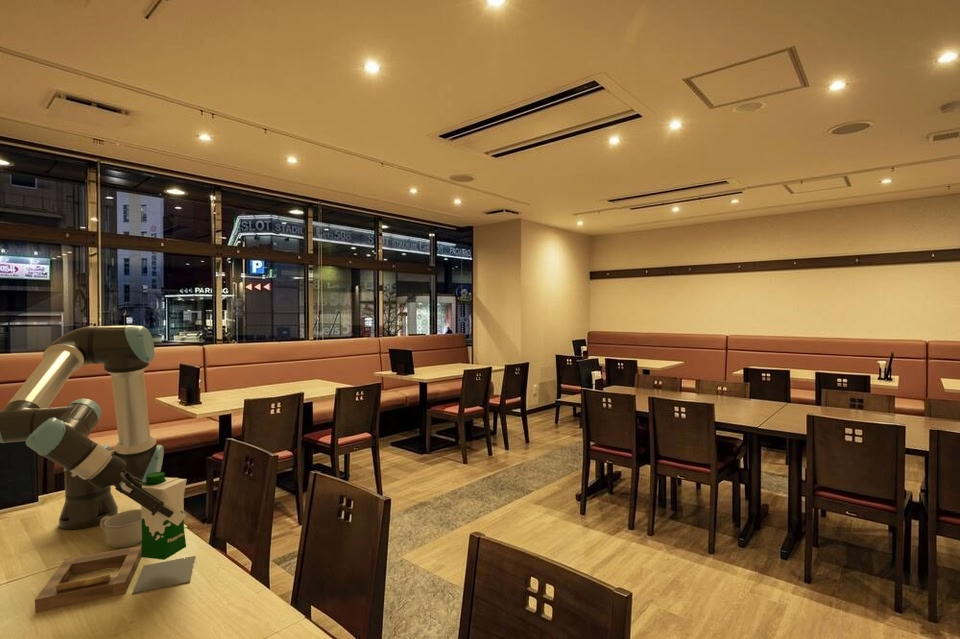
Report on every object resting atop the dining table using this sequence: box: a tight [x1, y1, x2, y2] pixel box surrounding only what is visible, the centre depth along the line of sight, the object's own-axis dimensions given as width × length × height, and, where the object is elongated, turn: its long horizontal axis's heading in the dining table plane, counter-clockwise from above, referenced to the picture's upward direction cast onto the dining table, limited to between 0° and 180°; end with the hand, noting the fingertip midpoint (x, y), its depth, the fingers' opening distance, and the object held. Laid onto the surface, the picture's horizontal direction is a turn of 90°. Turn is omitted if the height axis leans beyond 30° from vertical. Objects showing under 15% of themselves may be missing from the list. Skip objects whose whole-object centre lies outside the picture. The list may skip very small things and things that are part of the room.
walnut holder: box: [34, 545, 143, 613], centre depth 125 cm, size 20×17×5 cm
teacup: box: [99, 508, 142, 549], centre depth 146 cm, size 14×11×8 cm
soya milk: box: [140, 471, 188, 561], centre depth 127 cm, size 9×9×20 cm
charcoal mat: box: [131, 555, 196, 595], centre depth 128 cm, size 14×12×1 cm
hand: (178, 514), depth 129 cm, fingers closed on soya milk, 9 cm apart
